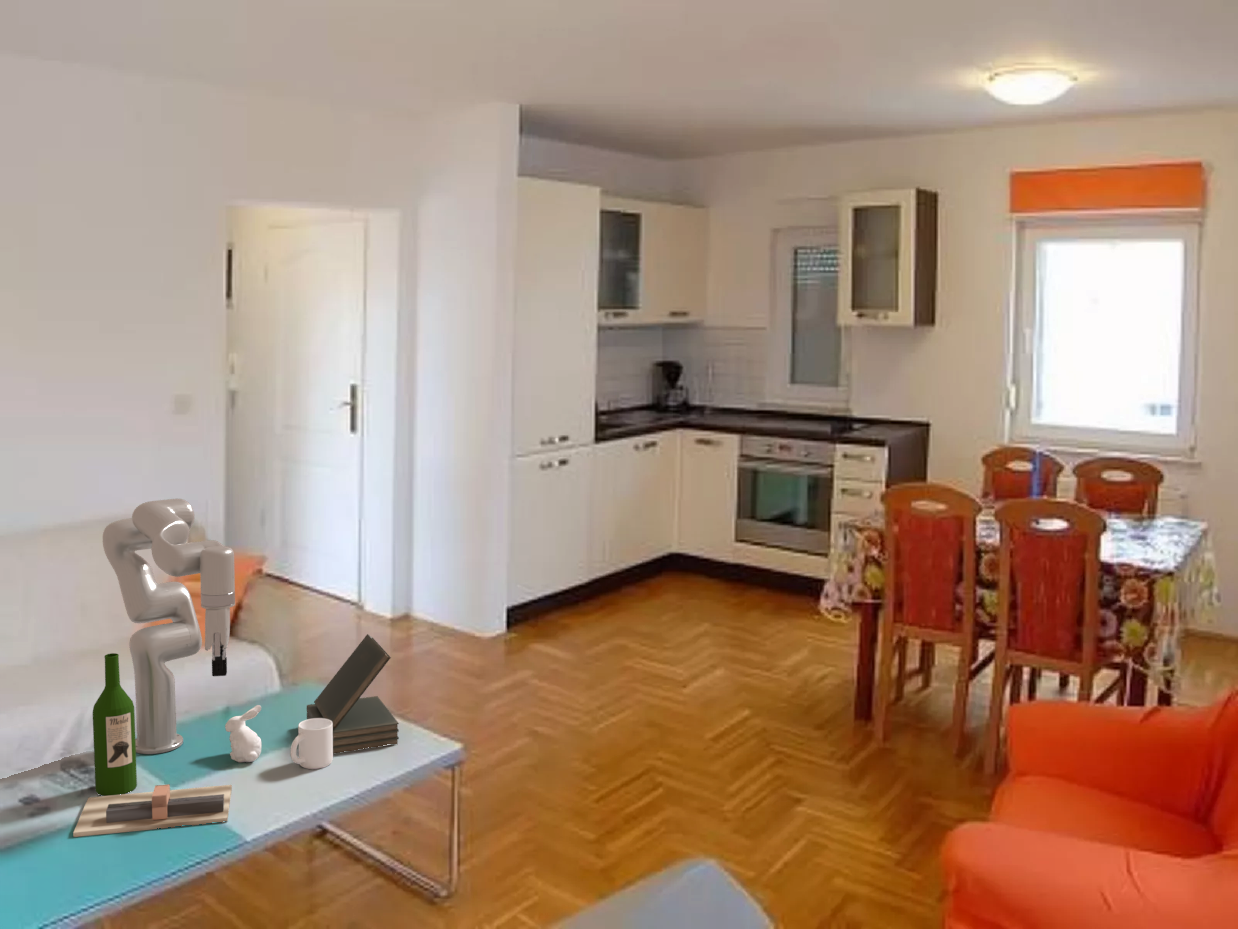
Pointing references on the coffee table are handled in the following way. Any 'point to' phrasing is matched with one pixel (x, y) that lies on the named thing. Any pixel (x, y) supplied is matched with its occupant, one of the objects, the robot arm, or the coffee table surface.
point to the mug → (314, 743)
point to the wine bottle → (114, 735)
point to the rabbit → (244, 737)
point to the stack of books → (357, 702)
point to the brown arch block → (160, 801)
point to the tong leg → (168, 801)
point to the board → (102, 802)
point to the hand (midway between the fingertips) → (219, 674)
